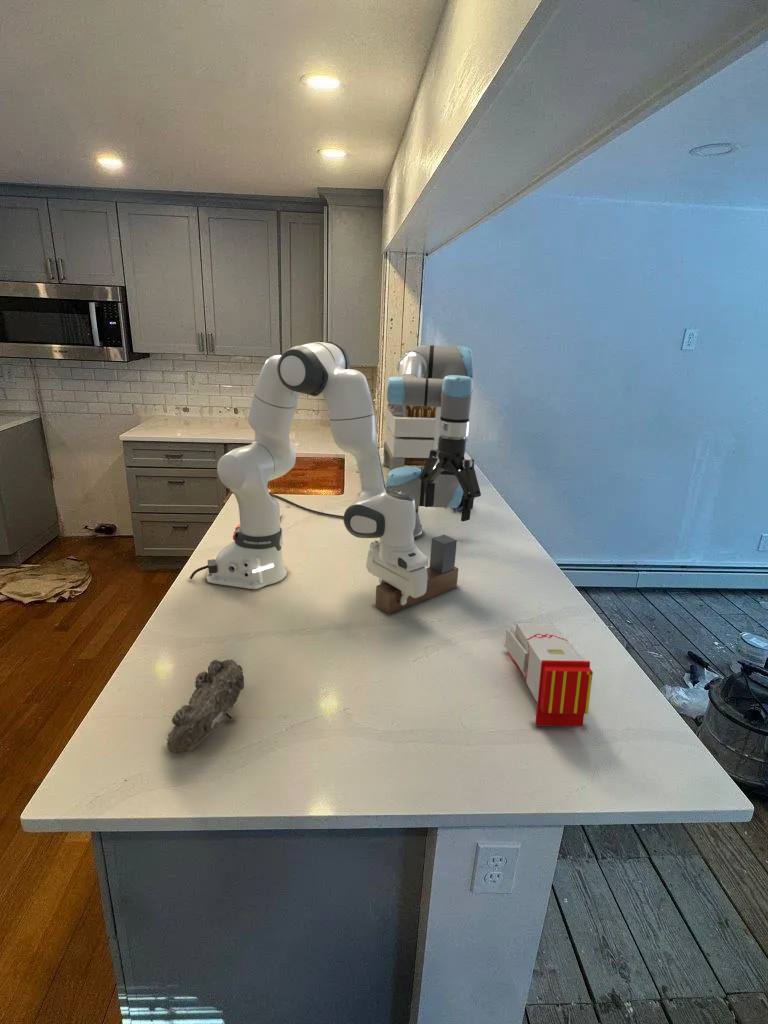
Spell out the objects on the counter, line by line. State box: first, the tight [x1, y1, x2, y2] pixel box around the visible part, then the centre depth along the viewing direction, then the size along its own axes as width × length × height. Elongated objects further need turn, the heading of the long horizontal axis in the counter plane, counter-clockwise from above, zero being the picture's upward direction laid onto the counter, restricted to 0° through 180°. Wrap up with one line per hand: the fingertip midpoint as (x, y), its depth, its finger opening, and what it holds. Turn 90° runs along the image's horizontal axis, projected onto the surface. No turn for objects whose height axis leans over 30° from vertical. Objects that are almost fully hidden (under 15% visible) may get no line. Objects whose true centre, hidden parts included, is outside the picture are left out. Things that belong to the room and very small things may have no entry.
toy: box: [503, 622, 594, 727], centre depth 121 cm, size 12×13×30 cm
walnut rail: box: [374, 566, 459, 615], centre depth 156 cm, size 6×26×6 cm, turn 131°
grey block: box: [429, 534, 458, 574], centre depth 159 cm, size 5×5×9 cm
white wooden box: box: [383, 402, 436, 472], centre depth 268 cm, size 34×33×41 cm
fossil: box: [166, 658, 245, 754], centre depth 106 cm, size 22×10×15 cm
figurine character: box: [452, 492, 466, 512], centre depth 228 cm, size 7×8×15 cm
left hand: (393, 598), depth 151 cm, fingers closed on walnut rail, 5 cm apart
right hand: (446, 513), depth 155 cm, fingers open, 13 cm apart
